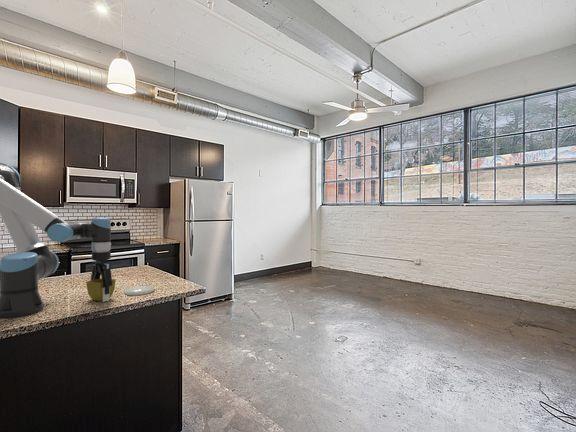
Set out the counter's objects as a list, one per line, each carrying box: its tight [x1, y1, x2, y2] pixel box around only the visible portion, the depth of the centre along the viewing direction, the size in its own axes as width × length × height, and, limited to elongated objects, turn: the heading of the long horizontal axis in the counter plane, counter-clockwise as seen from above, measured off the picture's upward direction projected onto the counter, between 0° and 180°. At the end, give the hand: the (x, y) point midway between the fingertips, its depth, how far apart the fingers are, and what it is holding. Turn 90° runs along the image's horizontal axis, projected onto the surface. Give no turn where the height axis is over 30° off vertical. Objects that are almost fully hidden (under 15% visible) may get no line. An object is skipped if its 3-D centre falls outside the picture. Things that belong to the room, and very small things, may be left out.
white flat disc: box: [123, 285, 155, 296], centre depth 158 cm, size 14×14×1 cm
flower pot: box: [85, 277, 117, 302], centre depth 143 cm, size 9×9×9 cm
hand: (101, 298), depth 143 cm, fingers closed on flower pot, 10 cm apart
